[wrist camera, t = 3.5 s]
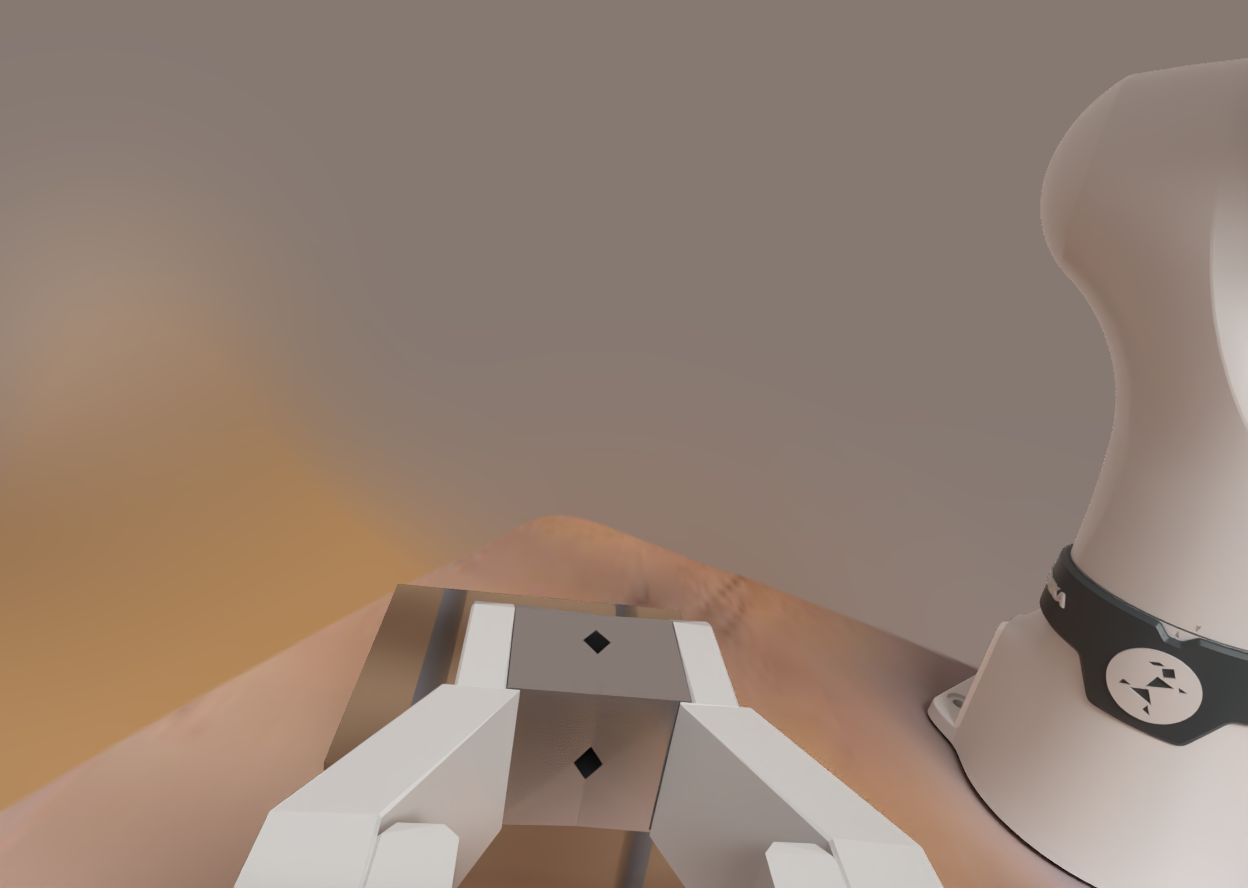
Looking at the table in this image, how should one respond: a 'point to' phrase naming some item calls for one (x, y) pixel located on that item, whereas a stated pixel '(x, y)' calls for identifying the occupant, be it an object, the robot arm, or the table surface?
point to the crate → (429, 656)
